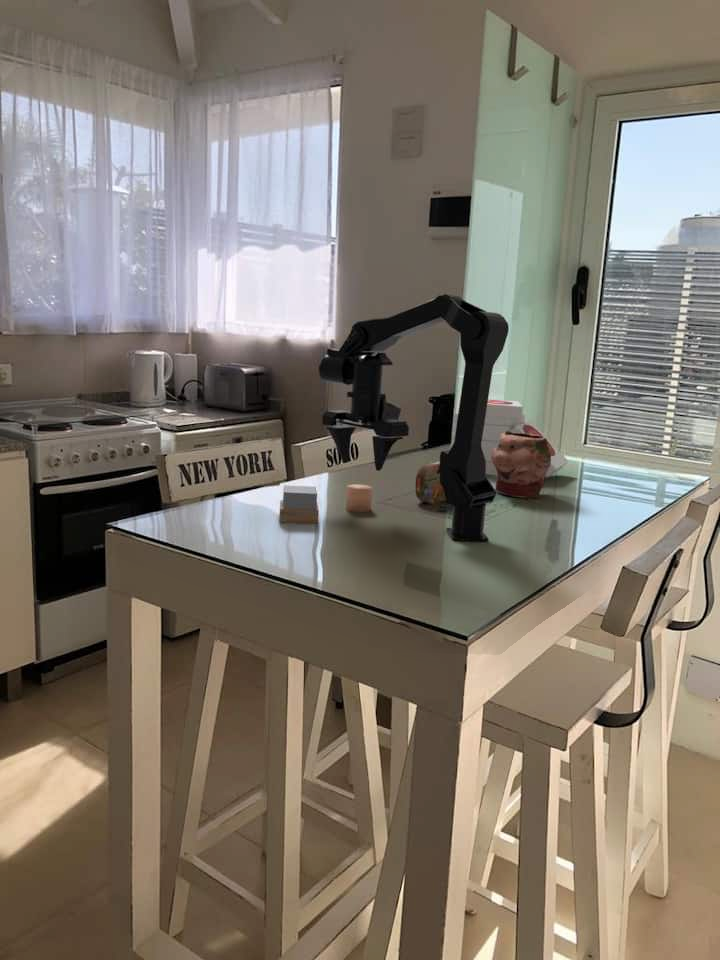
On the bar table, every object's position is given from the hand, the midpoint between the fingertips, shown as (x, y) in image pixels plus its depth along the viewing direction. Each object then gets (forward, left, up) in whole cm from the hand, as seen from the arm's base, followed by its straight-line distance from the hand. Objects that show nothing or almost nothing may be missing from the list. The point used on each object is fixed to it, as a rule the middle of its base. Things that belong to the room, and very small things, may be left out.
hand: (361, 466), depth 157 cm
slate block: (-10, +12, -6) cm, 17 cm away
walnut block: (-10, +12, -9) cm, 18 cm away
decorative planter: (+22, -40, -9) cm, 46 cm away
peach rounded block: (0, 0, -9) cm, 9 cm away
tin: (+11, -18, -9) cm, 23 cm away
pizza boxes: (+49, -44, -9) cm, 66 cm away
